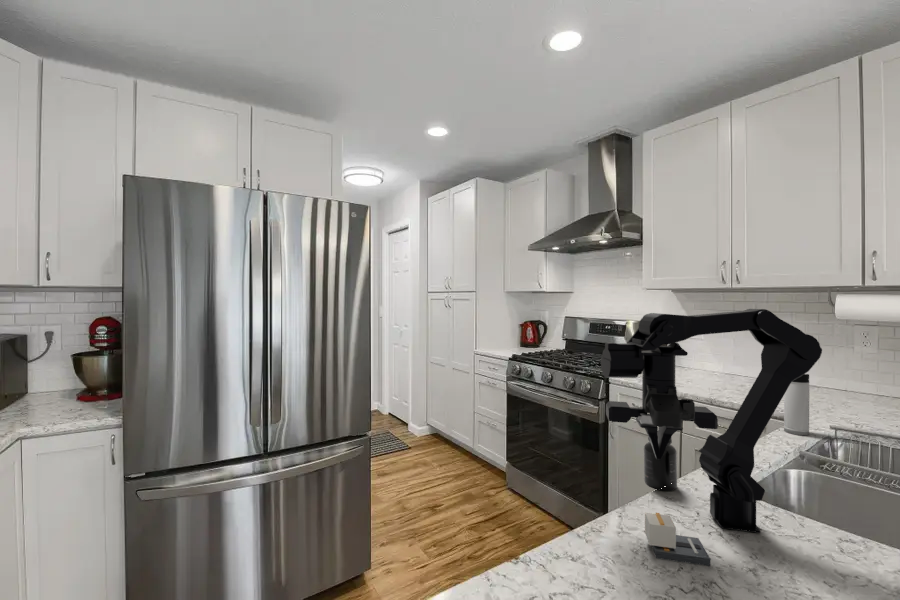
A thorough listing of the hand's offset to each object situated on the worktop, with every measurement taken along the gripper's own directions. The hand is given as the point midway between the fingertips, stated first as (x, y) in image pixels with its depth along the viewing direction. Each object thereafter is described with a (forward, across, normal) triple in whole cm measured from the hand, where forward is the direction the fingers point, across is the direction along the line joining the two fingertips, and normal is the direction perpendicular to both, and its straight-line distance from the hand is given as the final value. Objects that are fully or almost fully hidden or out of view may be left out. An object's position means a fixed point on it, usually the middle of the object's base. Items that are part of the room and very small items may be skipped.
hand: (658, 458), depth 81 cm
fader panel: (+12, +1, -10) cm, 16 cm away
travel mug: (+12, +55, +70) cm, 90 cm away
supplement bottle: (+12, +4, +17) cm, 21 cm away
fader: (+11, -2, -10) cm, 15 cm away
